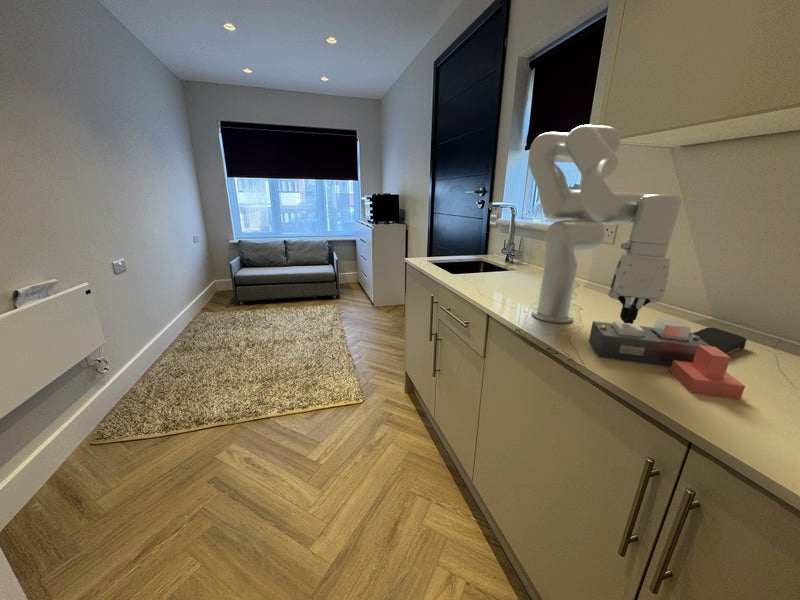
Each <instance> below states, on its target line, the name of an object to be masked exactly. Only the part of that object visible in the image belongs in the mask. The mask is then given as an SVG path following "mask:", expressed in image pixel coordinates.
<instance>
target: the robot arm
mask: <svg viewBox="0 0 800 600" xmlns="http://www.w3.org/2000/svg"><path fill="white" fill-rule="evenodd" d="M620 143H621V137H620V133H619V131H618V130H617V129H616V128H614V127H612V126H608V125H594V124H584V125H583V124H582V125H579V126H576V127H575V128H573V129H571V131H569V132H559V131H549V132H544V133H542V134H539V135H538V136H537V137H535V138H534V139H533V141H532V143H531V145H530V148H529V152H528V166H529V169H530V173H531V175H532V178H533V180H534V182H535V184H536V187H537V192H538V194H539V200H540V203H541V208H542V211H543V214H544V217H546V218H547V219H548V220H550V221H555V222H553V223H552V224H550V225H549V226H548V228H547V229H546V232H545V235H544V245H545V249H544V250H545V253H544V254H545V255H544V256H545V257H544V263H543V272H542V278H541V279H542V280H541V285H540V292H539V299H538V303H537V304H538V305H537V307H536V308H533V309H532V311H531V314H532V316H533V317H534V318H536V319H538V320H541V321H544V322H547V323H555V324H567V323H571V322H573V320H574V315H573V314H572V313H570V309H571V303H572V299H573V298H572V296H573V292H574V286H575V281H576V278H577V277H576V275H577V270H578V262H577V258H576V256H575V252H588V251H594V250H597V249H598V248H599V247H601V246H602V244H603V243H604V240H605V236H606V234H605V231H606V230H605V227H604V226H605V225H632V228H631V231H630V235H629V238H628V239H629V240H627V242H626V243H624V242H623V243H621V245H620V249H621V250H625V252H622V255H620V257H619V260H618V262H617V264H616V266H615V270H614V273H613V276H612V278H611V283H610V290H609V291H608V294H607V295H608V297H609V298H611V299H614V300H618V301H619V302H620V304H621V305H622V307H621V311H620V314H619V315H620V316H619V317H620V319H621V322H624V323H630V324H633V323H634V322H635V321H636V320H637V317H638V313H639V310H641V309H642V308H643V307H644V306H646V305H647V304H653V303H659V302H660V301H661V299H662V298H663V297H664V295H665V291H666V288H667V285H668V284H667V283H668V280H669V279H668V278H669V272H670V257H668V256H666V255H667V252H668V249H669V246H670V242H671V239H672V236H673V232H674V229H675V225H676V222H677V219H678V214H679V212H680V208H681V206H682V205H681V204H682V198H681V196H680V195H679V196H678V195H676V194H668V193H667V194H664V193H663V194H662V193H661V194H659V193H656V194H653V193H652V194H648V193H641V192H614V191H612V190H611V189H610V187H609V186H608V183H607V182H606V179H607V178H608V177H610V176H611V175H612V174H613V173H614V172H615V171H616V170H617V168H618V166H619V158H618V156H617V154H616V152H617V151H618V149H619V147H620V145H621V144H620ZM556 163H574V165H575V166H576V167H577V169H578V171H579V172H580V174H581V176H582V177H583V179H582V181H581V184H580V189H572V188H570V187H569V185H568V183H567V178H566V175H565V174H564V172H563V170H562V169H561V168H560V167H559V166H558V165H557V164H556ZM633 298H634V299H633ZM632 299H633V300H632Z"/></svg>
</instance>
